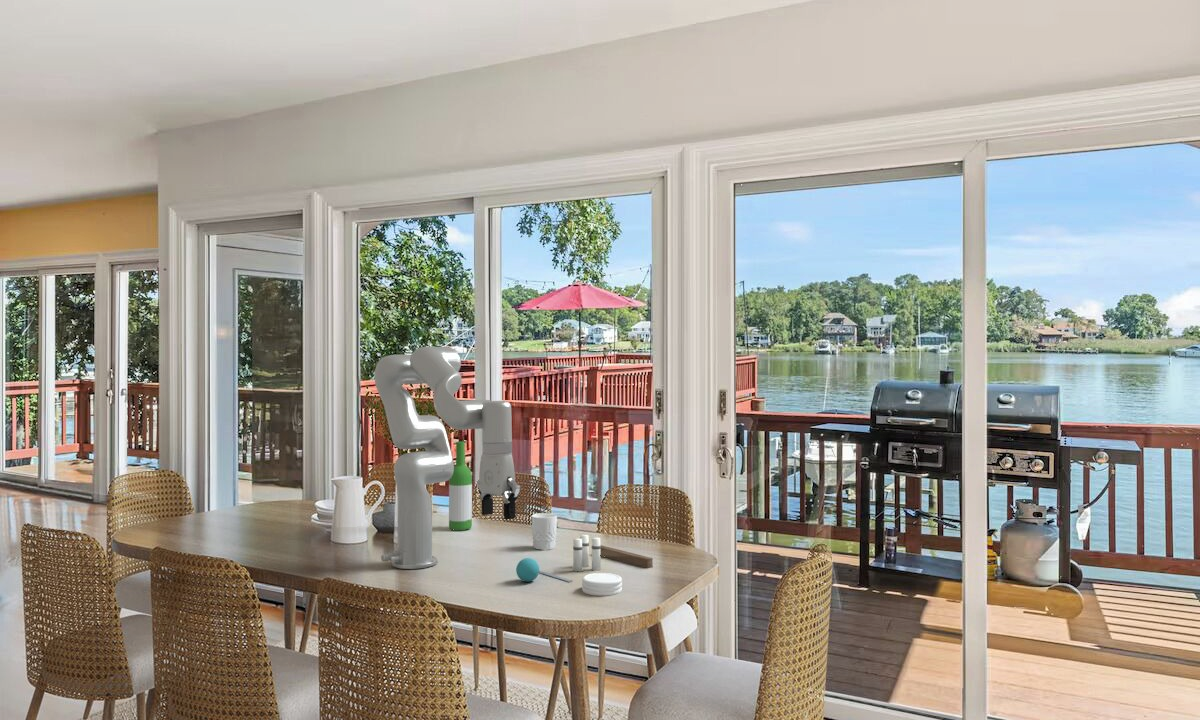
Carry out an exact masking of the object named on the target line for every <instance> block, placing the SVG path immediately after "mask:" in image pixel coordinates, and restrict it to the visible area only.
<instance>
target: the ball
mask: <svg viewBox="0 0 1200 720" xmlns="http://www.w3.org/2000/svg"><path fill="white" fill-rule="evenodd" d="M539 570H540V565H539V563H538V562H537V561H536V560H535V559H533V558H532V557H526V558H525V557H524V558H522V559H521V560H520V561H519V562H518V563H517V565H516V569H515V572H516V575H517V577H518V578H519V580H521V581H523V582H525V583H528V582H529V583H530V582H532V581H534V580H535V579H537V578H538V576H539V574H540V573H539Z"/></svg>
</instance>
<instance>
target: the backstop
mask: <svg viewBox="0 0 1200 720" xmlns="http://www.w3.org/2000/svg"><path fill="white" fill-rule="evenodd" d="M600 545H601V544H600ZM600 555H601V556H600V557H603V556H605V557H604V558H607V557H608V558H607V559H611V558H612V559H611V560H615V561H618V560H619V561H618V562H622V561H623V562H622V563H626V562H627V563H626V564H630V565H633V564H634V565H635V566H638V567H641V568H645V569H650V568H653V562H654V561H653V559H654V557H650V556H646V555H643V554H642V555H641V554H638V553H634V552H629V551H626V550H621V549H618V548H613V547H610V546H605V545H601V549H600ZM634 565H633V566H634Z"/></svg>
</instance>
